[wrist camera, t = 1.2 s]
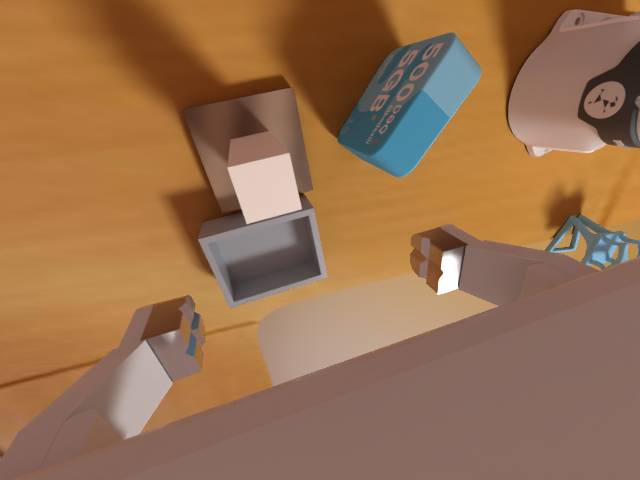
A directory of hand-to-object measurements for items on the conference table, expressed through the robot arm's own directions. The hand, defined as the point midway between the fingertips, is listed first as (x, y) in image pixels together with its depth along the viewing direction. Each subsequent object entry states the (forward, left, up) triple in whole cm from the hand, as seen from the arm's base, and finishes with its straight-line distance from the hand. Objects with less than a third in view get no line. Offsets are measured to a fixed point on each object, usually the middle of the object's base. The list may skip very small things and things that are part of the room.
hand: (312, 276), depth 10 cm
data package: (-15, -2, -28) cm, 32 cm away
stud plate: (+1, 0, -27) cm, 27 cm away
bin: (+3, +13, -27) cm, 30 cm away
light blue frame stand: (-57, +30, -28) cm, 71 cm away
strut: (+1, 0, -26) cm, 26 cm away
